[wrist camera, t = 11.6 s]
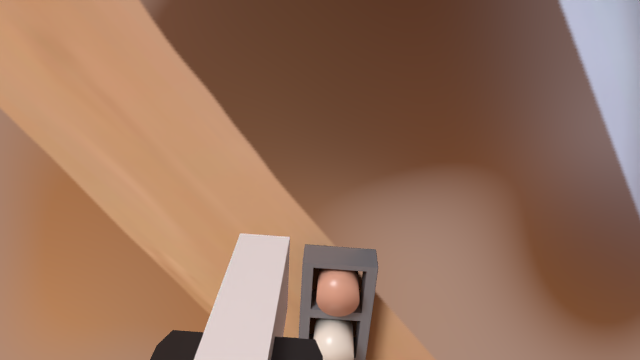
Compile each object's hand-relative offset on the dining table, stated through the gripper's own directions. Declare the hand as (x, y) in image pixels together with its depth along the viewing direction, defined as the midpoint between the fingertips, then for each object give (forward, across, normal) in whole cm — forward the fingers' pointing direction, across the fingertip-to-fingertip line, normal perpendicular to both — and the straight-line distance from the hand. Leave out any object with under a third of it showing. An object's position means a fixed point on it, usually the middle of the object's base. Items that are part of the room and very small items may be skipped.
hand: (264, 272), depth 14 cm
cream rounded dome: (+25, +4, -25) cm, 36 cm away
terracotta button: (+26, +4, -19) cm, 33 cm away
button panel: (+26, +4, -25) cm, 37 cm away
